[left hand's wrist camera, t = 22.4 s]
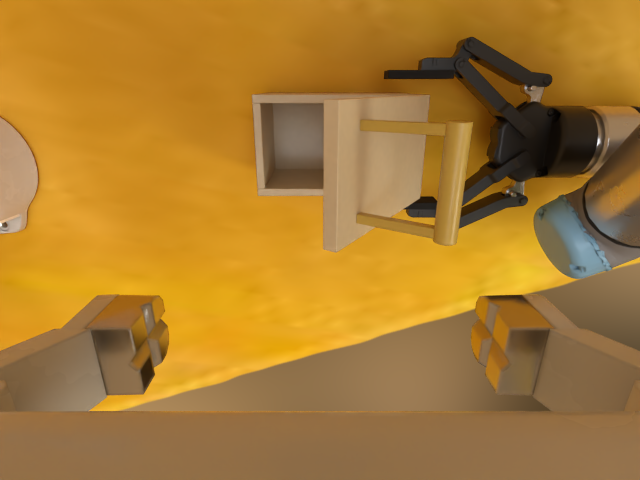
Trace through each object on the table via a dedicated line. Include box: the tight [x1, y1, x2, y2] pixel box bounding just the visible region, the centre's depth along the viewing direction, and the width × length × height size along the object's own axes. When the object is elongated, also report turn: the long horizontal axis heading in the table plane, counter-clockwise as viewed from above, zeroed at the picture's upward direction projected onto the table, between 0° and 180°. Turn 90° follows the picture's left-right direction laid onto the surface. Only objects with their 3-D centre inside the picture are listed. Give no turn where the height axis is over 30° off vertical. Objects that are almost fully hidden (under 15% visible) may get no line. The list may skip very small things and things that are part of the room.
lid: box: [323, 95, 473, 252], centre depth 30 cm, size 17×10×8 cm
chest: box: [252, 93, 420, 196], centre depth 44 cm, size 16×10×11 cm, turn 90°
